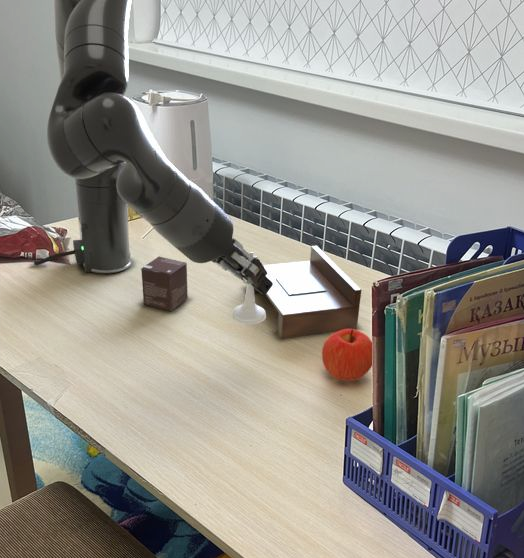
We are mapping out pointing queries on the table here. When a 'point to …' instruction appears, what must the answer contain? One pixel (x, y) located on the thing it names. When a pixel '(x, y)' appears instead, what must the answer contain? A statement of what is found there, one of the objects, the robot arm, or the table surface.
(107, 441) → the table surface
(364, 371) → the apple
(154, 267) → the box
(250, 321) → the chess piece
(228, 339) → the table surface
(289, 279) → the shelf
